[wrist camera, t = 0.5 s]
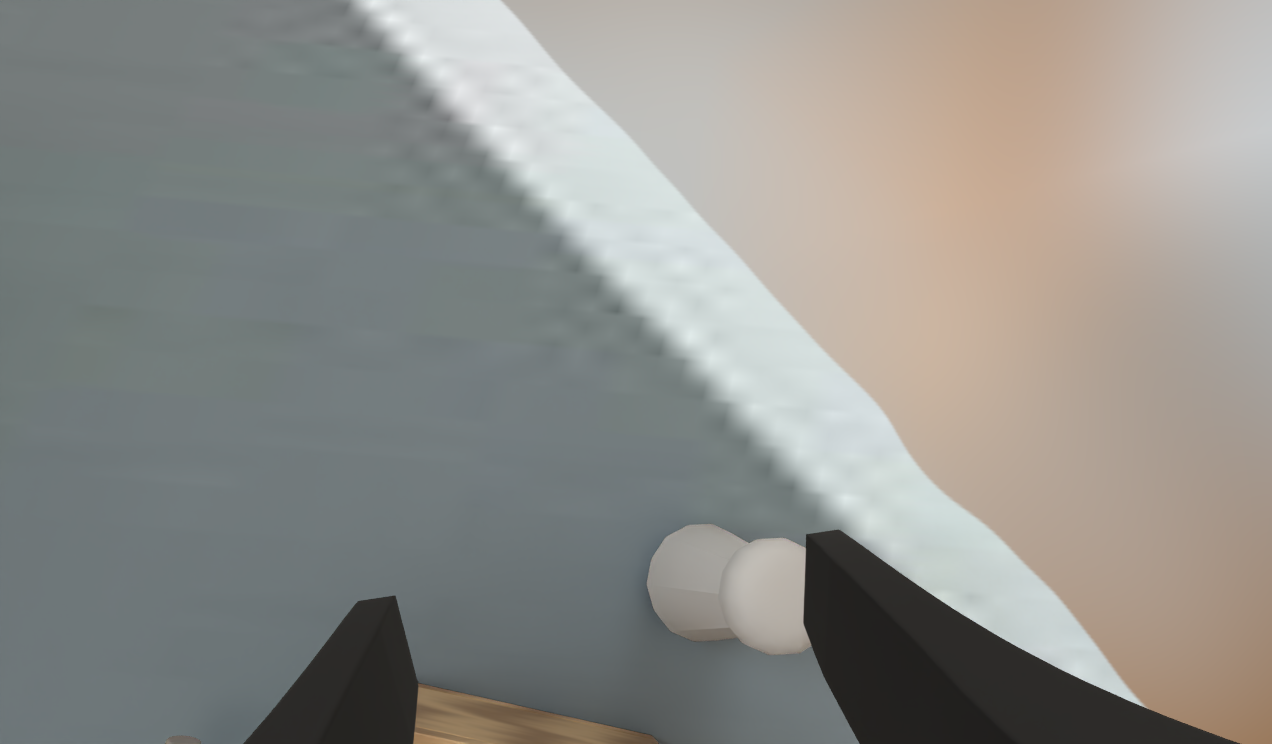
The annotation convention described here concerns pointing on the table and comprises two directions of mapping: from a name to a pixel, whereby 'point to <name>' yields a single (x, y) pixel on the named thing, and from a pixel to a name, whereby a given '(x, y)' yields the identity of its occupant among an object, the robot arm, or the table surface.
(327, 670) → the robot arm
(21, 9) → the table surface
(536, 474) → the table surface
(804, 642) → the salt shaker
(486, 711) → the tan wooden box
